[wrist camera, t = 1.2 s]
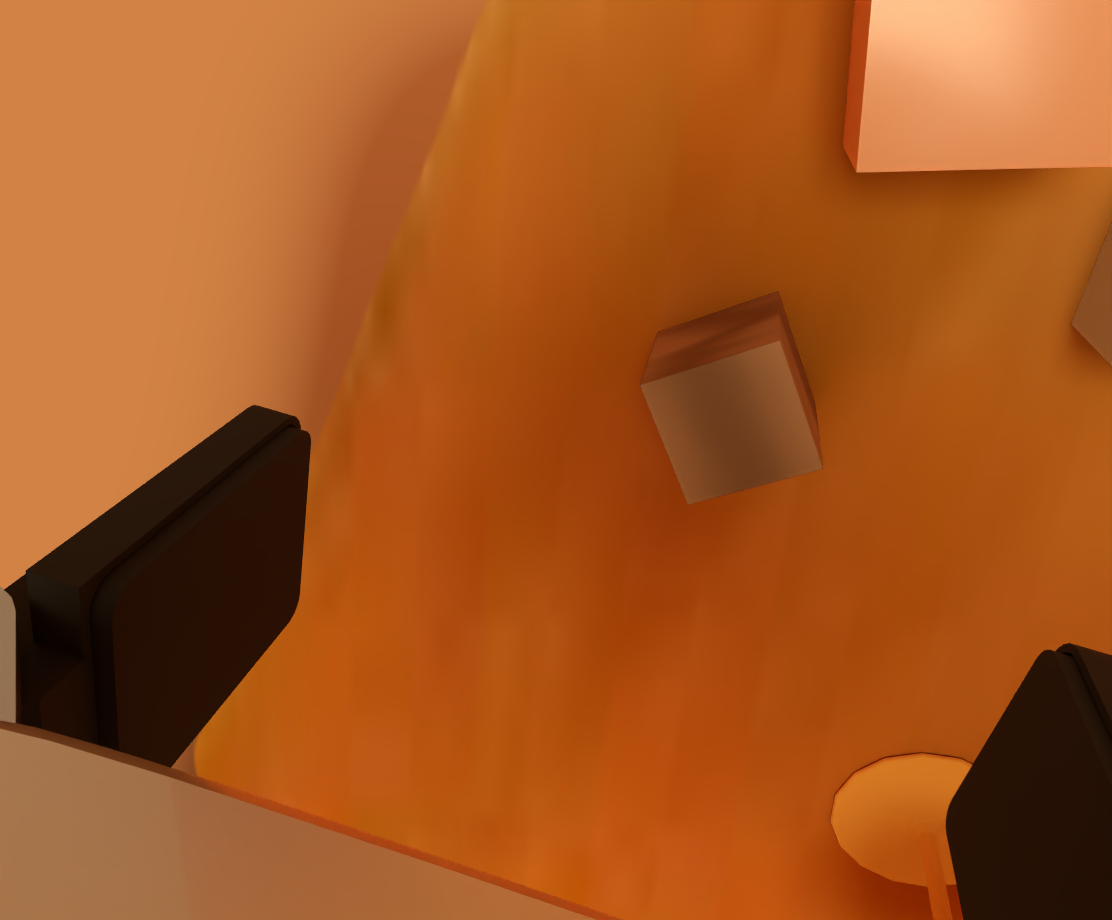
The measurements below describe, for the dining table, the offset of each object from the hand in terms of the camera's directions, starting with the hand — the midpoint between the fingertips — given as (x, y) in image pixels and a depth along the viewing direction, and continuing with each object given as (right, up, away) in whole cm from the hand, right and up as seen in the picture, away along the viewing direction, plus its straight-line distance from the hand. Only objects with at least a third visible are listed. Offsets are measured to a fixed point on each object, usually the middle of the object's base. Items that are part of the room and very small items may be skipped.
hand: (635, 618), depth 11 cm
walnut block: (+6, +6, +25) cm, 27 cm away
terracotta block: (+13, +16, +19) cm, 28 cm away
